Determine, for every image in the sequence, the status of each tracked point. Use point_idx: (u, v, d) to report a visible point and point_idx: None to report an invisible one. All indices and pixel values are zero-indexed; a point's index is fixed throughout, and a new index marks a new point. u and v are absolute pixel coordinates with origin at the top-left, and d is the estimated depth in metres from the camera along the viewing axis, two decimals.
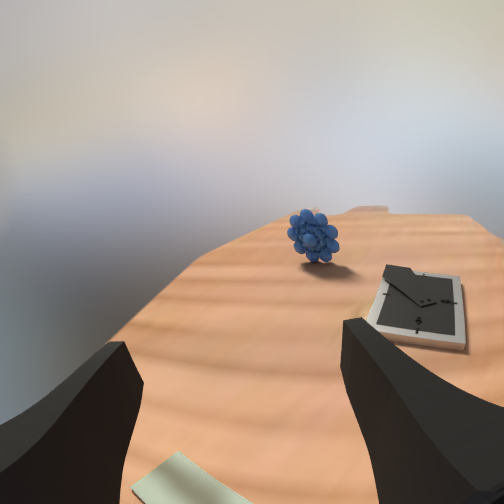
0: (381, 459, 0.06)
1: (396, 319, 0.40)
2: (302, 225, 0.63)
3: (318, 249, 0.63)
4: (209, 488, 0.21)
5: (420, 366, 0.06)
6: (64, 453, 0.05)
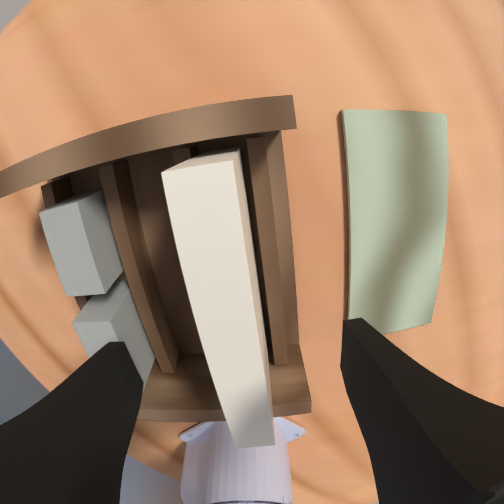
0: (381, 459, 0.06)
1: None
2: None
3: None
4: (433, 205, 0.16)
5: (420, 366, 0.06)
6: (64, 453, 0.05)
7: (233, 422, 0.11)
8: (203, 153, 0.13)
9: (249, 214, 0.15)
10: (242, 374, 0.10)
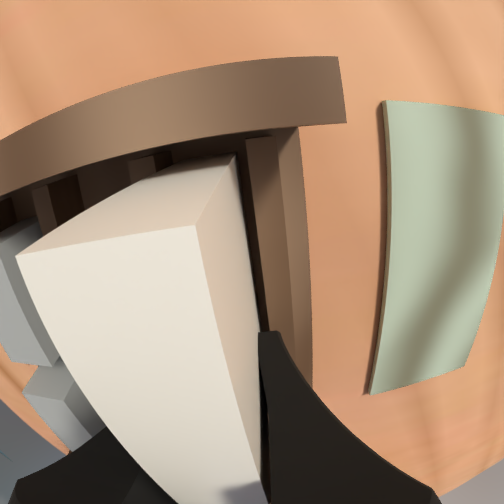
0: None
1: None
2: None
3: None
4: (487, 233, 0.11)
5: (308, 391, 0.06)
6: None
7: None
8: (176, 164, 0.08)
9: (250, 253, 0.10)
10: None
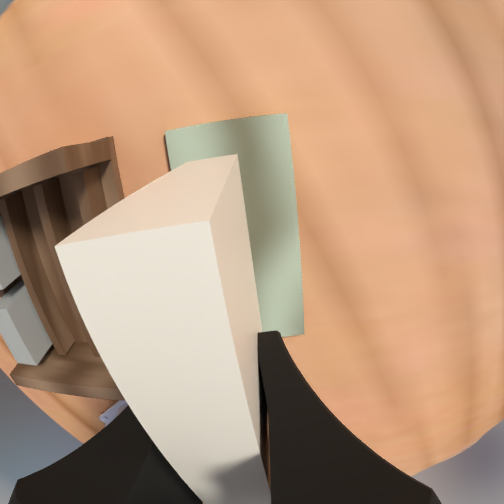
0: None
1: None
2: None
3: None
4: (277, 213, 0.18)
5: (308, 391, 0.06)
6: (165, 471, 0.04)
7: None
8: (181, 166, 0.09)
9: (250, 250, 0.11)
10: (241, 499, 0.05)
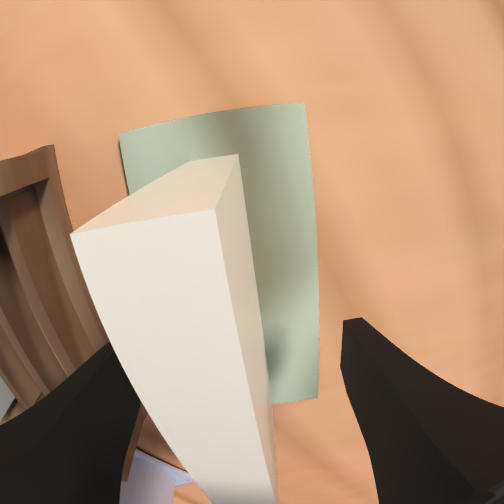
0: (381, 459, 0.06)
1: None
2: None
3: None
4: (288, 254, 0.12)
5: (420, 366, 0.06)
6: (64, 453, 0.05)
7: None
8: (184, 165, 0.09)
9: (250, 247, 0.11)
10: (241, 488, 0.06)
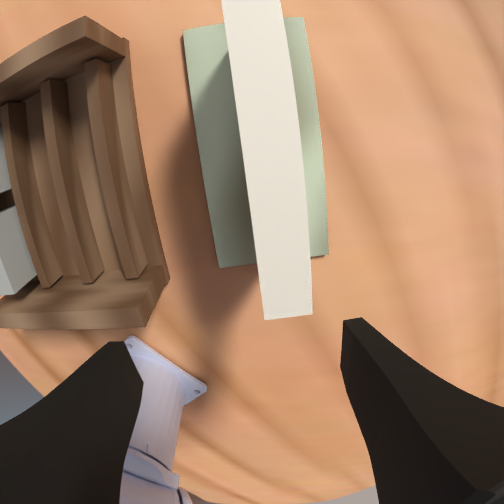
0: (381, 459, 0.06)
1: None
2: None
3: None
4: (297, 106, 0.15)
5: (420, 366, 0.06)
6: (64, 453, 0.05)
7: (265, 264, 0.10)
8: None
9: None
10: (280, 175, 0.09)
